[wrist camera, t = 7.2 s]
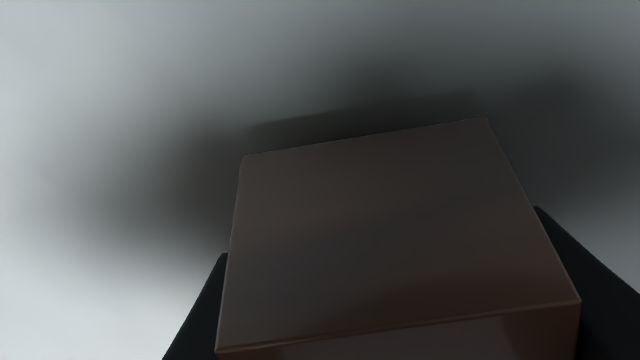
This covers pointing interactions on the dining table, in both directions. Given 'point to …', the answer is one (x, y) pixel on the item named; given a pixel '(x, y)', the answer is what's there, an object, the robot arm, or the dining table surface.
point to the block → (392, 254)
